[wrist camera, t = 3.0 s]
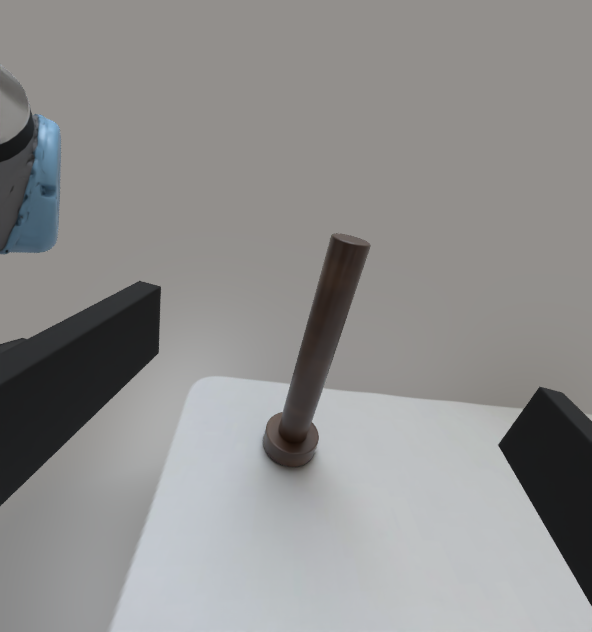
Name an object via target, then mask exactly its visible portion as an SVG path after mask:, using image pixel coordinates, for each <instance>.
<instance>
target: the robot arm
mask: <svg viewBox="0 0 592 632" xmlns="http://www.w3.org/2000/svg"><path fill="white" fill-rule="evenodd" d="M60 163H61V137H60V129H59V126H58V125H57V124H56V123H55V122H54V121H52V120H49V119H46V118H45V117H44V116H42V115H37V114H35V115H32V113H31V110H30V105H29V101H28V98H27V96H26V93H25V91H24V89H23V87H22V86H21V85H20V83H19V82H18V81H17V79H16V78H15V77H14V76H13V75H12V74H11V73H10V72H9V71H8V70H6V69H5V68H4V67H3V66H2V65H0V254H7V253H9V252H28V253H40V252H45V251H48V250H50V249H51V248H52V247H53V246H54V245H55V243H56V241H57V235H58V223H59V201H60V200H59V199H60ZM160 294H161V287H160V286H157V285H153V284H149V283H145V282H141V281H139V282H137V283H135V284H133V285H131V286H129V287H127V288H125V289H123V290H121V291H119V292H117V293H116V294H114V295H112V296H110V297H108V298H106V299H104V300H102V301H100V302H98V303H97V304H94V305H92V306H90V307H89V308H87V309H85V310H83V311H81V312H79V313H77V314H75V315H73V316H71V317H69V318H68V319H66V320H64V321H62V322H60V323H58V324H56V325H54V326H52V327H50V328H48V329H46V330H44V331H42V332H41V333H39V334H37V335H35V336H33V337H31V338H29V339H24V338H21V339H18V340H14V341H10V342H7V343H3V344H0V506H1V505H2V504H3V503H4V502H5V501H6V500H7V499H8V498H9V497H10V496H11V495H12V494H13V493H14V492H15V491H16V490H17V489H18V488H19V487H20V486H22V485H23V484H24V483H25V482H26V481H27V480H28V479H29V478H30V477H31V476H32V475H33V474H34V473H35V472H36V471H37V470H38V469H39V468H40V467H41V466H42V465H43V464H44V463H45V462H46V461H47V460H48V459H49V458H50V457H52V456H53V455H54V454H55V453H56V452H57V451H58V450H59V449H60V448H61V447H62V446H63V445H64V444H65V443H66V442H67V441H68V440H69V439H70V438H71V437H72V436H73V435H74V434H75V433H76V432H77V431H78V430H79V429H80V428H81V427H83V426H84V424H86V422H88V421H89V420H90V419H91V418H92V417H93V416H94V415H95V414H96V413H97V412H98V411H99V410H100V409H101V408H102V407H103V406H104V405H105V404H106V403H107V402H108V401H109V400H110V399H111V398H113V397H114V396H115V395H116V394H117V393H118V392H119V391H120V390H121V389H122V388H123V387H124V386H125V385H126V384H127V383H128V382H129V381H130V380H131V379H132V378H133V377H134V376H135V375H136V374H137V373H138V372H139V371H140V370H142V369H143V367H145V366H146V364H148V363H149V362H150V361H151V360H152V359H153V358H154V357H155V356H156V355H157V354H158V352H159V323H160V296H161V295H160ZM498 446H499V447H500V449H501V451H502V452H503V454H504V456H505V458H506V459H507V461H508V463H509V464H510V466H511V468H512V470H513V471H514V473H515V475H516V477H517V478H518V480H519V482H520V483H521V485H522V487H523V489H524V490H525V492H526V494H527V496H528V497H529V499H530V501H531V502H532V504H533V506H534V508H535V509H536V511H537V513H538V515H539V516H540V518H541V520H542V521H543V523H544V525H545V527H546V528H547V530H548V532H549V533H550V535H551V537H552V539H553V540H554V542H555V544H556V546H557V547H558V549H559V551H560V552H561V554H562V556H563V558H564V559H565V561H566V563H567V565H568V566H569V568H570V570H571V571H572V573H573V575H574V577H575V578H576V580H577V582H578V584H579V585H580V587H581V589H582V590H583V592H584V594H585V596H586V597H587V599H588V601H589V602H590V604H591V606H592V421H591V420H590V419H589V418H588V417H587V416H586V415H585V414H584V413H583V412H582V411H581V410H580V409H579V408H578V407H577V406H576V405H574V404H573V402H572V401H571V400H569V399H568V398H567V397H566V396H565V395H564V394H563V393H561V392H557V391H554V390H550V389H546V388H542V387H539V388H538V390H537V391H536V393H535V394H534V395H533V397H532V398H531V400H530V401H529V403H528V404H527V406H526V407H525V408H524V409H523V411H522V412H521V414H520V415H519V416H518V418H517V419H516V421H515V422H514V423H513V425H512V426H511V428H510V429H509V430H508V432H507V433H506V435H505V436H504V437H503V439H502V440H501V442H500V443H499V444H498Z"/></svg>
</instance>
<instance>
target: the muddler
mask: <svg viewBox="0 0 592 632" xmlns="http://www.w3.org/2000/svg"><path fill="white" fill-rule="evenodd" d="M369 249H370V244H369V243H368V242H367V241H365V240H362V239H360V238H357V237H353V236H349V235H345V234H337V233H336V234H332V235H331V238H330V242H329V246H328V249H327V253H326V257H325V261H324V264H323V268H322V271H321V275H320V279H319V282H318V286H317V289H316V293H315V297H314V300H313V304H312V308H311V311H310V315H309V319H308V322H307V326H306V330H305V333H304V337H303V340H302V345H301V348H300V351H299V355H298V359H297V363H296V366H295V370H294V373H293V377H292V381H291V384H290V388H289V392H288V395H287V399H286V402H285V406H284V410H283V412H281V413H278V414H276V415H274V416H273V417H271V418H270V420H269V421H268V423H267V426H266V430H265V434H264V438H263V444H264V448H265V450H266V452H267V454H268V455H269V456H270V457H271V458H272V459H273V460H274V461H276V462H277V463H279V464H281V465H284V466H288V467H297V466H302V465H304V464H306V463H307V462H309V461H310V460H311V458H312V457H313V455H314V452H315V449H316V446H317V444H318V440H319V436H318V431H317V429H316V427H315V425H314V424H313V423H312V419H313V416H314V413H315V410H316V407H317V404H318V401H319V398H320V395H321V392H322V389H323V386H324V383H325V380H326V378H327V374H328V371H329V369H330V365H331V362H332V360H333V357H334V354H335V350H336V347H337V345H338V342H339V339H340V336H341V333H342V330H343V326H344V324H345V321H346V318H347V315H348V312H349V309H350V305H351V303H352V300H353V297H354V294H355V291H356V288H357V285H358V282H359V279H360V276H361V273H362V270H363V267H364V264H365V261H366V258H367V255H368V252H369Z"/></svg>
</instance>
